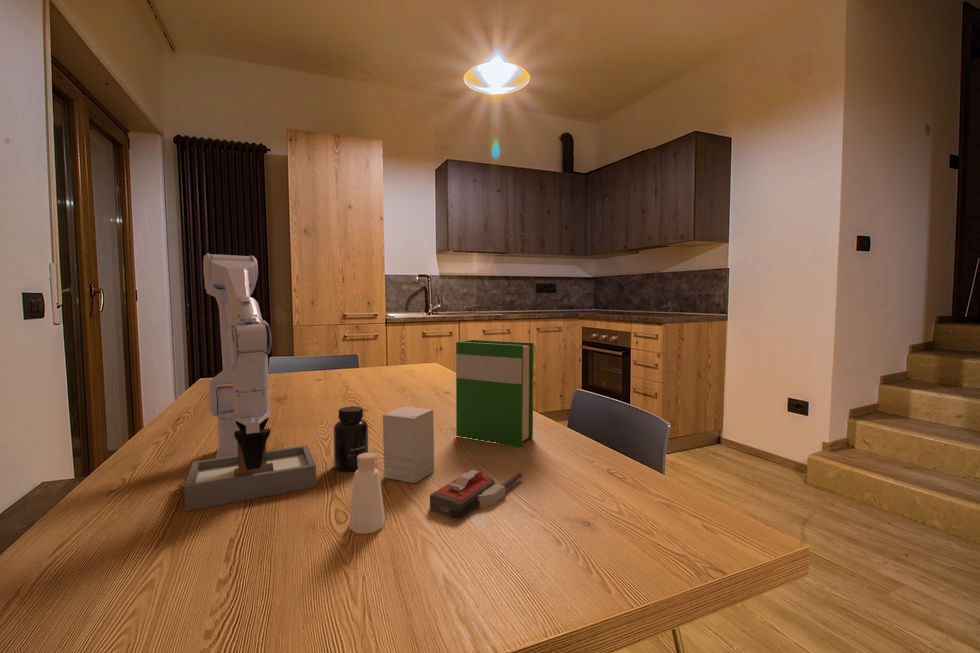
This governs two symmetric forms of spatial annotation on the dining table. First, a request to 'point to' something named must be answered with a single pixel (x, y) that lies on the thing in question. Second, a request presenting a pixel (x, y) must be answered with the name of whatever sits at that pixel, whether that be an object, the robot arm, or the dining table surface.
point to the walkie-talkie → (468, 494)
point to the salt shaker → (366, 497)
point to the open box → (248, 478)
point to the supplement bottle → (350, 438)
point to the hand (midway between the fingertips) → (253, 461)
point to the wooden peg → (242, 466)
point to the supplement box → (408, 444)
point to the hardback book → (494, 391)
